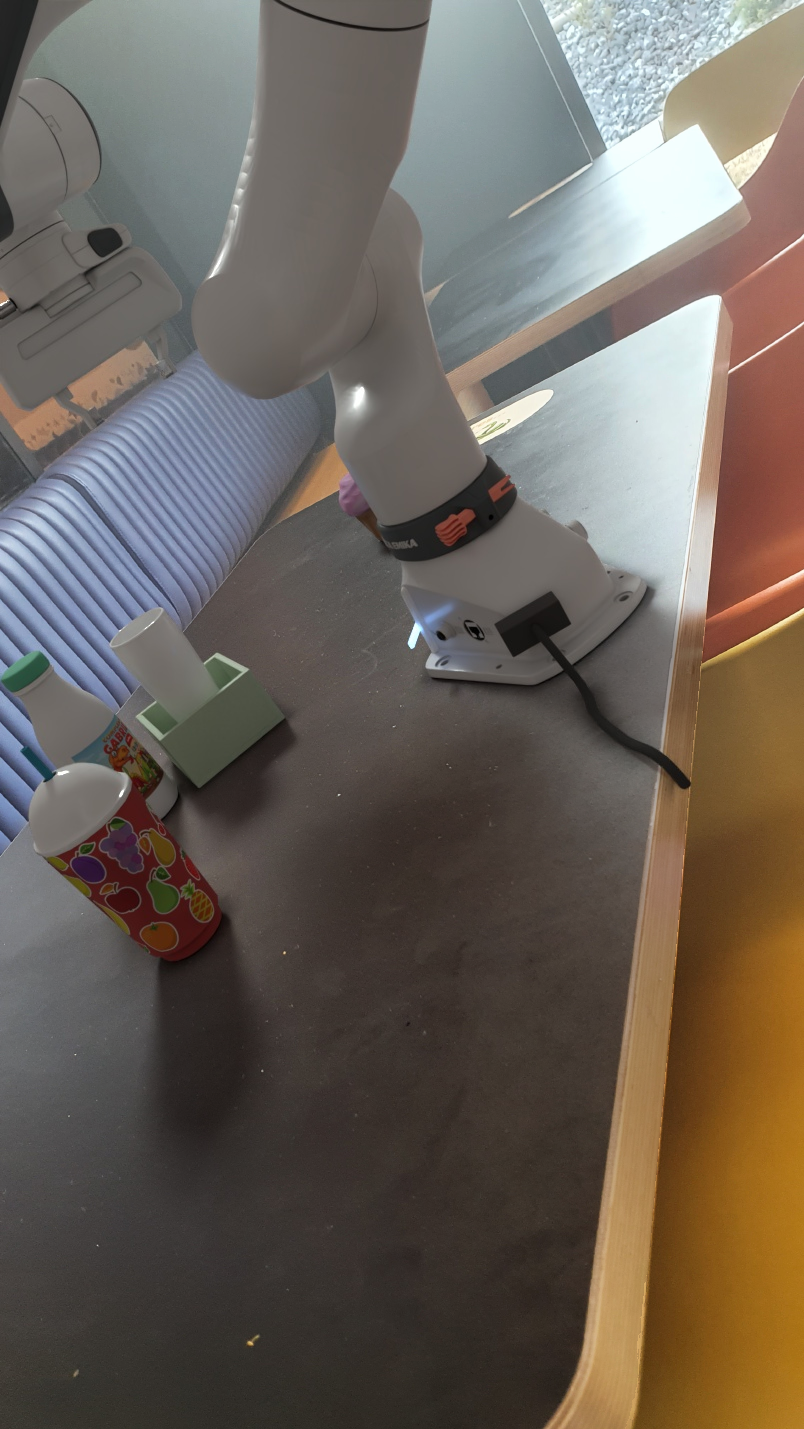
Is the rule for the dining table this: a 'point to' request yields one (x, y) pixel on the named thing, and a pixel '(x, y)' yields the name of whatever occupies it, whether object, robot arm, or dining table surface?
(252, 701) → the tub
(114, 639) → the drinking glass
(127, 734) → the milk bottle
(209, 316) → the robot arm
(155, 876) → the smoothie
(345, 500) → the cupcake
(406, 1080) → the dining table surface
